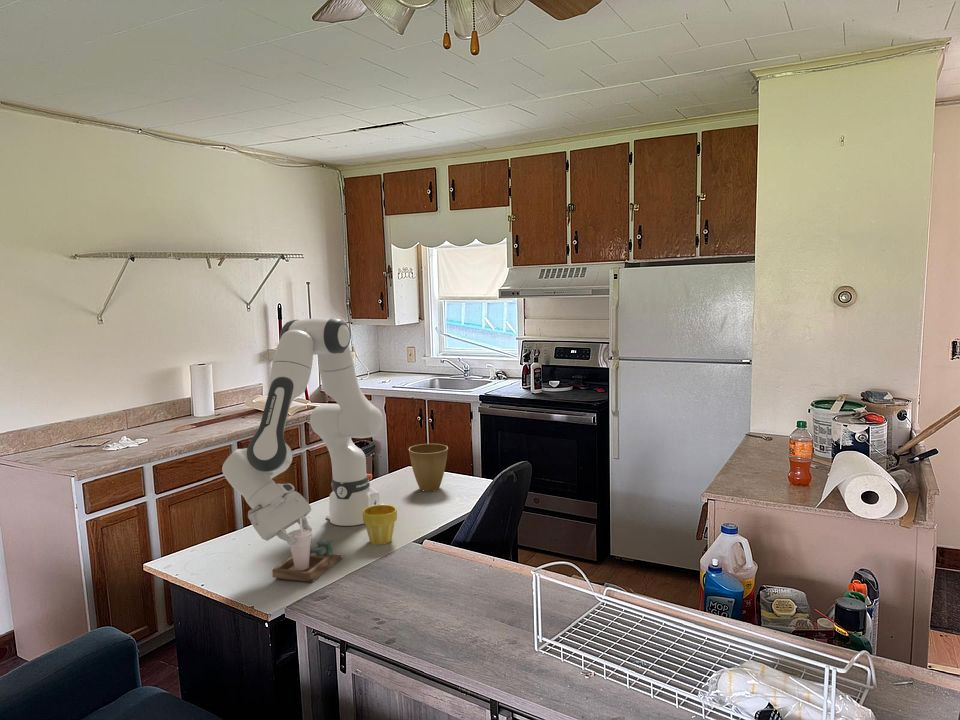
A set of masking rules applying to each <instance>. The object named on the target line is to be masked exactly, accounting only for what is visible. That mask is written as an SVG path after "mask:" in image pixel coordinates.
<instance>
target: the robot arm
mask: <svg viewBox="0 0 960 720" xmlns="http://www.w3.org/2000/svg"><path fill="white" fill-rule="evenodd" d="M350 342H351V330H350V327H349V326H348V324H347V323H346V322H345V320H343V319H339V318H336V317H335V318H334V317H332V318H327V317H326V318H325V317H312V318H305V319H293V320H289V321H287V322H285V324H284V325H283V326H282V327H281V329H280V334H279V342H278V344H277V346H276V348H275V352H274V356H273V357H272V358H273V360H272V363H271V368H270V375H269V383H268V393H267V396H266V397H267V398H266V400H265V404H264V409H263V411H262V412H263V414H262V417H261V421H260V424H259V426H258V429H257V431H256V433H255V434H254V436H253V437H251V439H250V441H249V442H248V445H247V447H244V448H237V449H236V450H234V451H232V452H230V454H229V455H228V456H227V457H226V458H225V460H224V461H223V464H222V468H221V471H222V474H223V476H224V478H225V479H226V481H227V482H228V484H229V485H230V486H231V487H232V488H233V489H234V491H236V492H237V493H238V494H240V495H241V496H242V497H243V498H244V500H245V502H246V504H247V505H248V506H249V507H250V508H251V509H249V510H248V512H247V518H248V519H249V521H250V523H251V526H252V527H253V528H254V530H255V531H256V533H257V534H258V535H259V537H260V538H261V539H262V540H264V541H267V542H269V540H271V539H273V538H274V537H276V536H277V537H278V538H279V539H280V540H282V541H285V542H286V543H287V544H288V545H289V546H290V545H292V544H294V543H295V542H296V541H297V539H296V538H295V536H294V535H292V536H291V535H289V534H288V533H289V532H287V530H288V529H289V528H290V527H292V526H293V525H295V524H298V525H299V526H300V517H301V518H302V529H307V530H310V531H311V532H312V530H313V528H312V527H311V526H310V525H309V522H308V519H307V516H308V514H310V512H311V511H312V507H311V505H310V503H309V502H308V501H307V500H306V499H305V497H304V496H303V495H302V494H301V493H299V492H298V491H296V490H295V489H296V488H295V486H294V485H293V484H291V483H276V482H275V480H273V478H275V477H277V476H279V475H280V474H282V473H284V472H286V471H287V470H288V469H289V467H290V466H291V464H292V462H293V457H294V455H293V451H292V449H291V446H289V445H288V443H286V441H285V437H284V436H285V435H284V432H285V429H286V425H287V424H286V423H287V419H288V415H289V411H290V407H291V405H292V403H293V401H294V400H295V399H296V398H297V397H298V398H299V397H300V396H301V395H302V394H304V393H305V391H306V389H307V386H308V384H309V381H310V378H311V373H312V367H313V361H314V355H315V356H316V355H317V365H318V369H319V376H320V380H321V385H322V386H321V387H322V390H323V392H324V393H325V394H326V395H327V396H328V397H330V398H331V399H333V400H334V401H335V402H336V403H327V404H325V403H324V404H320V405H317V406H316V407H315V408H314V409H312V412H311V414H310V418H309V425H310V427H311V429H312V431H313V432H314V433H315V434H316V435H317V436H319V438H320V439H321V440H322V441H323V443H324V445H325V446H326V448H327V450H328V452H329V456H330V462H331V470H332V472H331V473H332V479H331V484H330V485H331V490H332V492H330V493H329V502H328V503H329V504H328V505H329V507H328V510H329V511H328V512H327V514H326V515H325V517H326V519H327V520H329V523H331V524H333V525H336V526H342V527H343V526H346V527H348V526H351V527H352V526H358V525H364V524H365V523H364V522H363V510H364V509H365V508H367V507H370V506H374V505H387V504H386V503H383V502H381V500H380V499H381V498H380V493H379V491H377V490H376V489H374V487H372V486H370V481H372V479H373V474H372V473H367V464H366V463H367V462H366V459H367V458H366V454H365V453H364V451H363V450H362V449H361V448H360V447H358V446H357V445H355V443H354V442H353V440H352V439H365V438H372V437H377V436H378V435H379V434H380V432H381V431H382V429H383V426H384V416H383V413H382V411H381V410H380V409H379V408H378V407H377V406H375V405H374V404H373V403H372V402H370V400H369V399H368V398H367V397H366V396H365V394H364V392H363V391H362V389H361V387H360V385H359V382H358V378H357V373H356V370H355V369H356V368H355V363H354V359H353V357H354V356H353V354H352V351H351V347H350Z"/></svg>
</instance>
